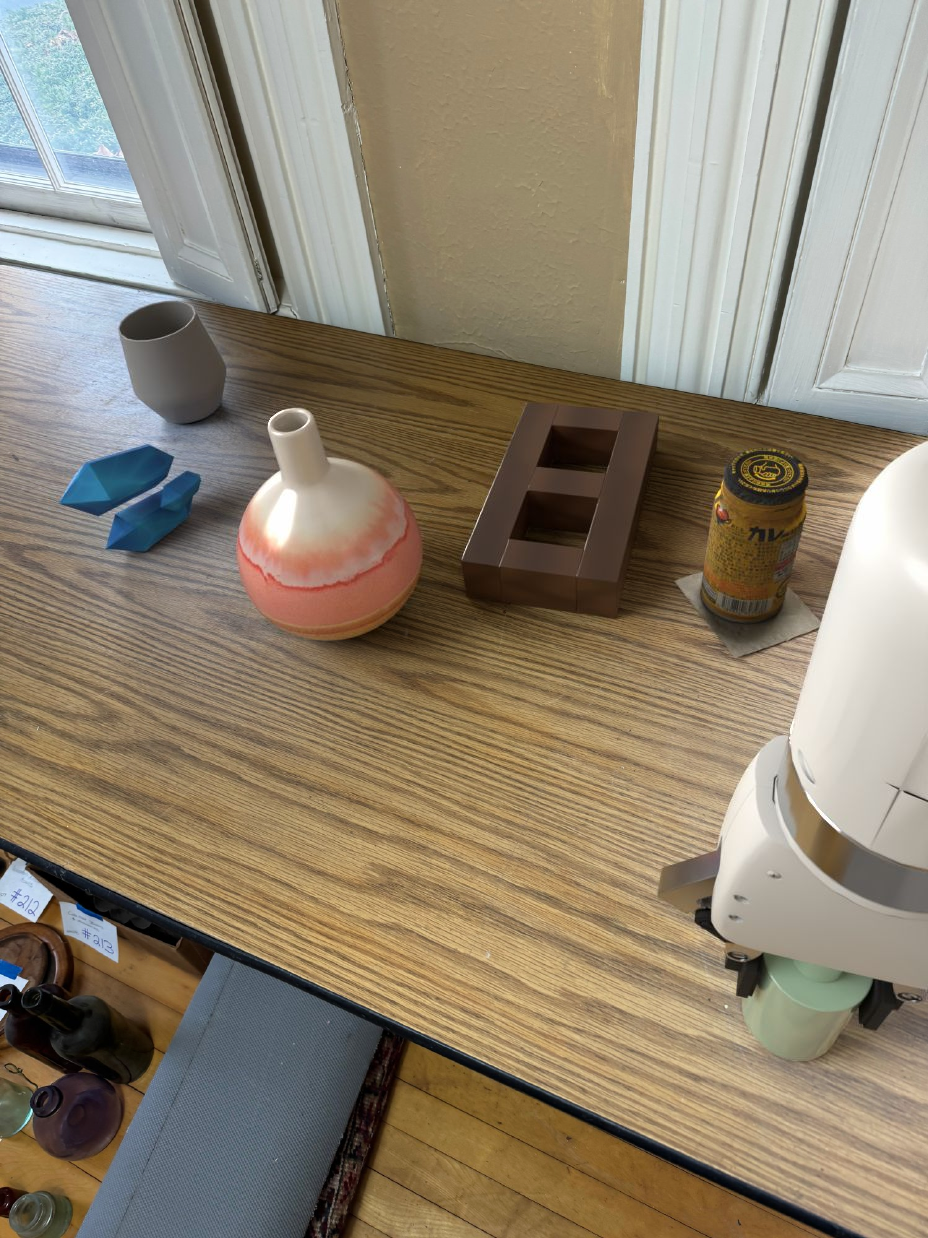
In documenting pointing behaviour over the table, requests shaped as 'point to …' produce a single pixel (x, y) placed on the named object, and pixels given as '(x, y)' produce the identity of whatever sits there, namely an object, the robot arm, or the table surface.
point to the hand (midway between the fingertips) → (805, 979)
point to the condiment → (754, 554)
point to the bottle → (801, 1006)
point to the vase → (326, 540)
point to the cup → (173, 361)
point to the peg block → (564, 510)
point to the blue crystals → (133, 495)
